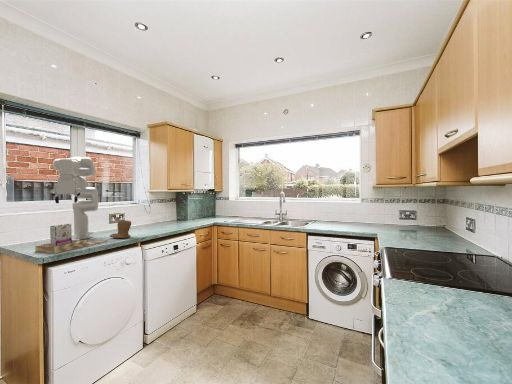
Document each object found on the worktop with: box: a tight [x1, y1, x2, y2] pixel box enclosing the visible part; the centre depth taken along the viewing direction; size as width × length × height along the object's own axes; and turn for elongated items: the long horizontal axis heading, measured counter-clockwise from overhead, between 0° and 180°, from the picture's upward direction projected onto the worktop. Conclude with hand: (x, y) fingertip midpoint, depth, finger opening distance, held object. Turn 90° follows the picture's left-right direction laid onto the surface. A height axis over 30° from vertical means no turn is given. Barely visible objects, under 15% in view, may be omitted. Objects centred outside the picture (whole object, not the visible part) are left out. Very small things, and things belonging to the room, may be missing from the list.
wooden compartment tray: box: [34, 239, 89, 254], centre depth 166 cm, size 22×17×4 cm
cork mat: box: [88, 239, 108, 246], centre depth 182 cm, size 14×7×1 cm, turn 166°
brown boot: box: [108, 219, 132, 239], centre depth 203 cm, size 15×12×15 cm
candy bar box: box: [49, 223, 73, 246], centre depth 165 cm, size 11×5×16 cm, turn 168°
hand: (66, 203), depth 162 cm, fingers open, 9 cm apart
